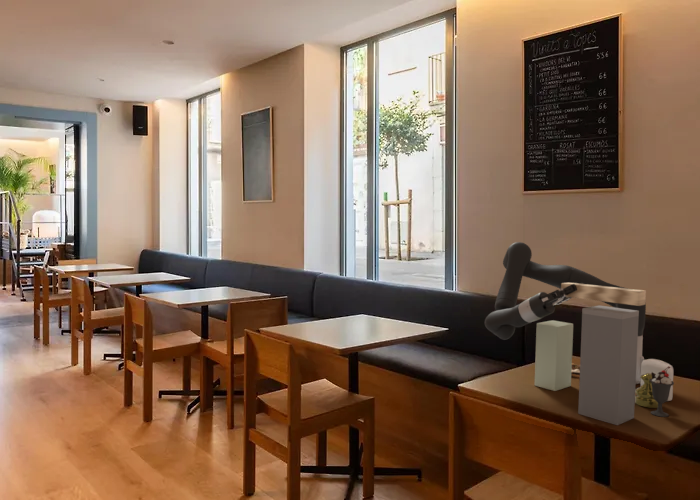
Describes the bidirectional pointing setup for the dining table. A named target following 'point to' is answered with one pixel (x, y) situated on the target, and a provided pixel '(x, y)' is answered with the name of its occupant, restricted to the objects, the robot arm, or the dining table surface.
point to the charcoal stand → (608, 363)
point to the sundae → (661, 390)
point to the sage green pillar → (553, 355)
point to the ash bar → (608, 294)
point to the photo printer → (657, 370)
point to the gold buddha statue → (645, 393)
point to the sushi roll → (575, 371)
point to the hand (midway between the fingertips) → (579, 286)
